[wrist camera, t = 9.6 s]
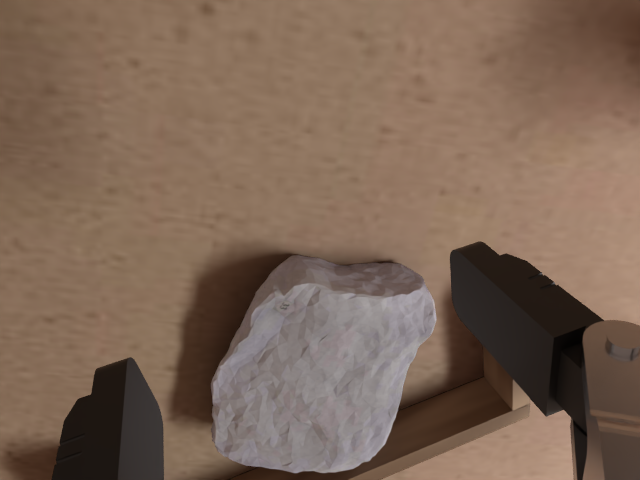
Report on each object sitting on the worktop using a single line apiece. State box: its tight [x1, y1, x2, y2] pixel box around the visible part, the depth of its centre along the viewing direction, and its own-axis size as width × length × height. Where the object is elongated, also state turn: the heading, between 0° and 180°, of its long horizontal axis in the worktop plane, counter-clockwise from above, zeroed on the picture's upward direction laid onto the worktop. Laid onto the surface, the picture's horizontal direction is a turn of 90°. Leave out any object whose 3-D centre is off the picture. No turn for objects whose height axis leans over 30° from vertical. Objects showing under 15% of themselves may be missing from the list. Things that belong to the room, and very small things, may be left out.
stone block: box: [211, 255, 436, 473], centre depth 25 cm, size 12×5×10 cm
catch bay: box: [229, 346, 530, 480], centre depth 27 cm, size 8×25×3 cm, turn 102°
